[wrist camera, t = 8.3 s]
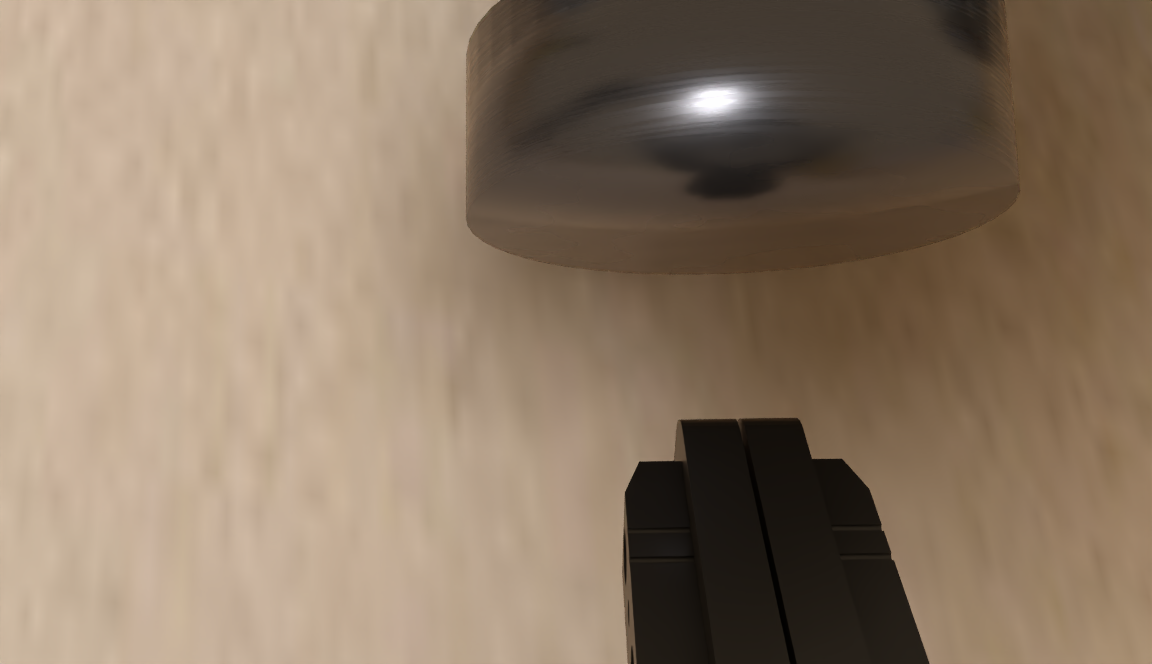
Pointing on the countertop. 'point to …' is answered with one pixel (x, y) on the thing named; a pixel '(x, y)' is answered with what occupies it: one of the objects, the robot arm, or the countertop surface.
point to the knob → (735, 130)
